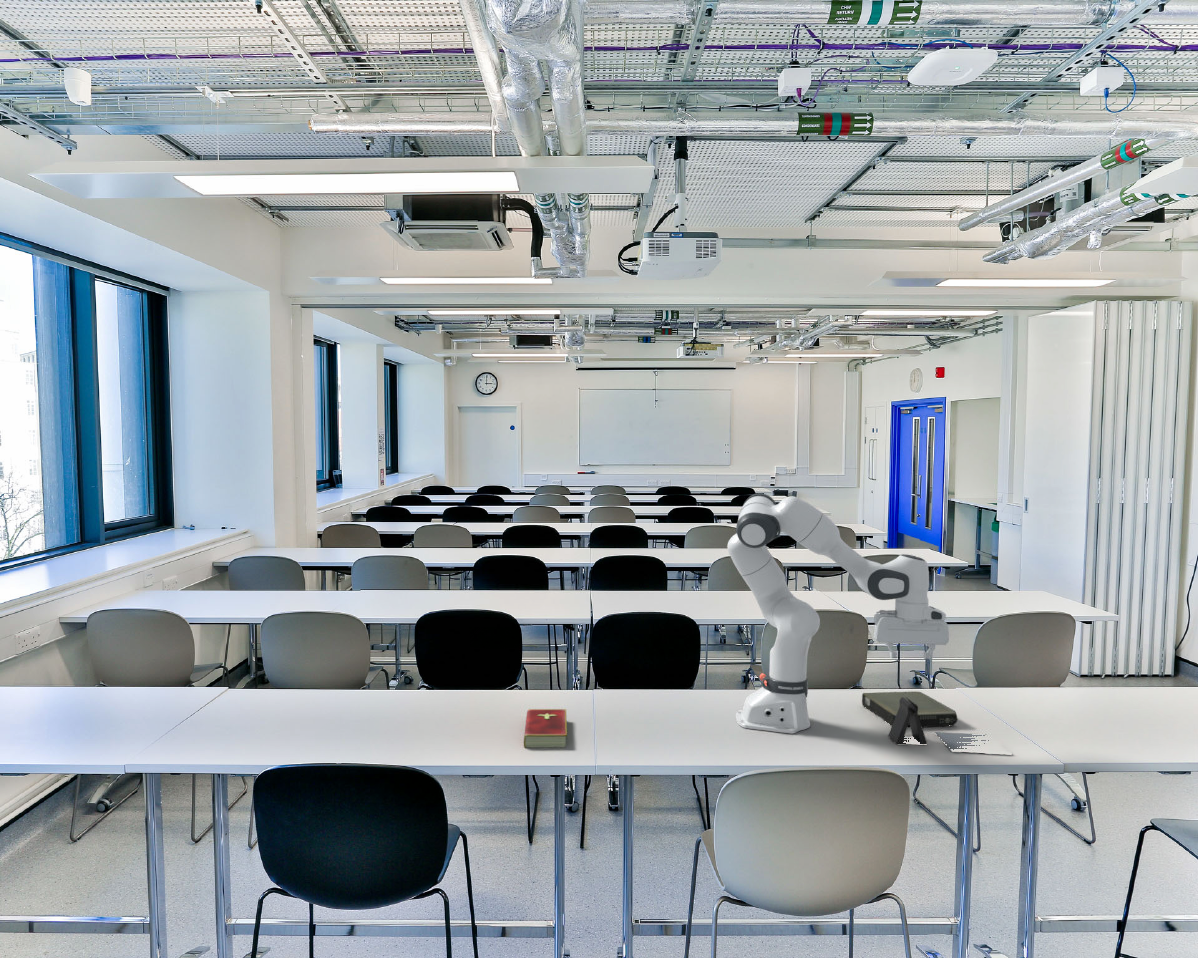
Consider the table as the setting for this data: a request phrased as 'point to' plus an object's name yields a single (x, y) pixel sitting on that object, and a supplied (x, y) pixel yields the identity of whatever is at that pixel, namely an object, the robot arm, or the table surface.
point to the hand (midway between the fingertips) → (910, 658)
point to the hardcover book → (545, 728)
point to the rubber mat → (956, 739)
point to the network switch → (927, 706)
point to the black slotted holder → (903, 717)
